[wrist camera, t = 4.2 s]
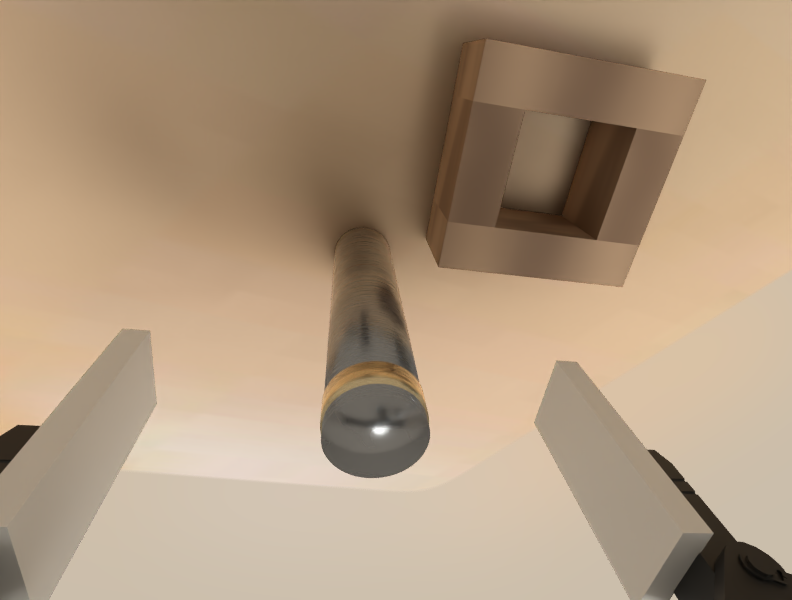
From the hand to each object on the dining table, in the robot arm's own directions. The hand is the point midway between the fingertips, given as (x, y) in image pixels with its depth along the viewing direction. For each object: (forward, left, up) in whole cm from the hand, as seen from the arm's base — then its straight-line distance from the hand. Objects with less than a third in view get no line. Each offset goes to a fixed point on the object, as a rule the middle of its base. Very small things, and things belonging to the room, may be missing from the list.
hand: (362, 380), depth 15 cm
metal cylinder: (0, 0, -11) cm, 11 cm away
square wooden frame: (-8, -6, -11) cm, 15 cm away
